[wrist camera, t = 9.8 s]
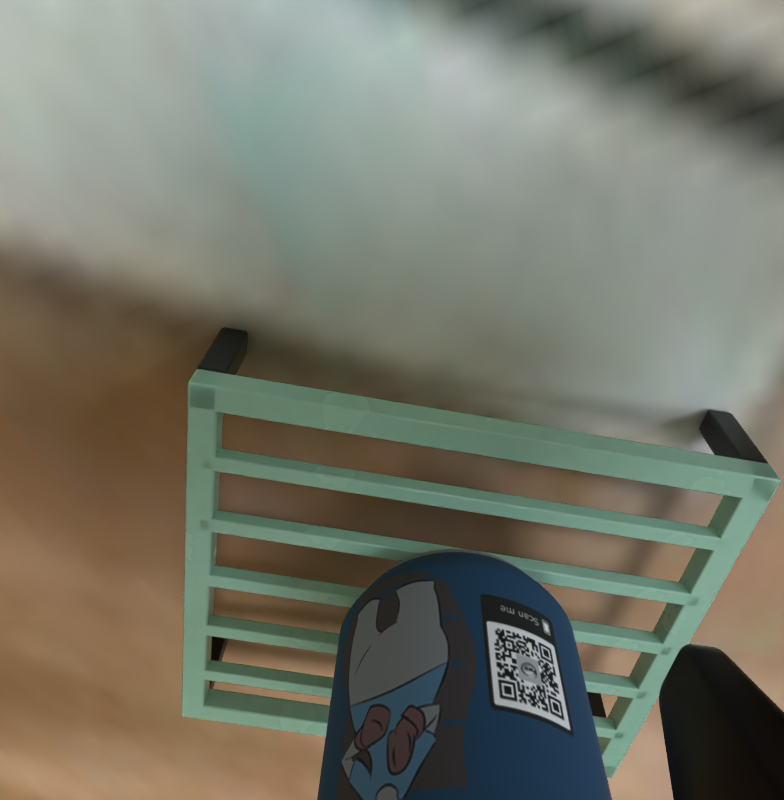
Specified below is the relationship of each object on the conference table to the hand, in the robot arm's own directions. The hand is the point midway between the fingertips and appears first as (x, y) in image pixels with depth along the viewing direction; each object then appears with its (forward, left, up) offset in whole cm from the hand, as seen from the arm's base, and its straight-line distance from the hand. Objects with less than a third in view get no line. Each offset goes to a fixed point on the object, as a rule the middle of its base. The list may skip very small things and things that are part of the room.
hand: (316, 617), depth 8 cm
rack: (-4, +10, -13) cm, 17 cm away
